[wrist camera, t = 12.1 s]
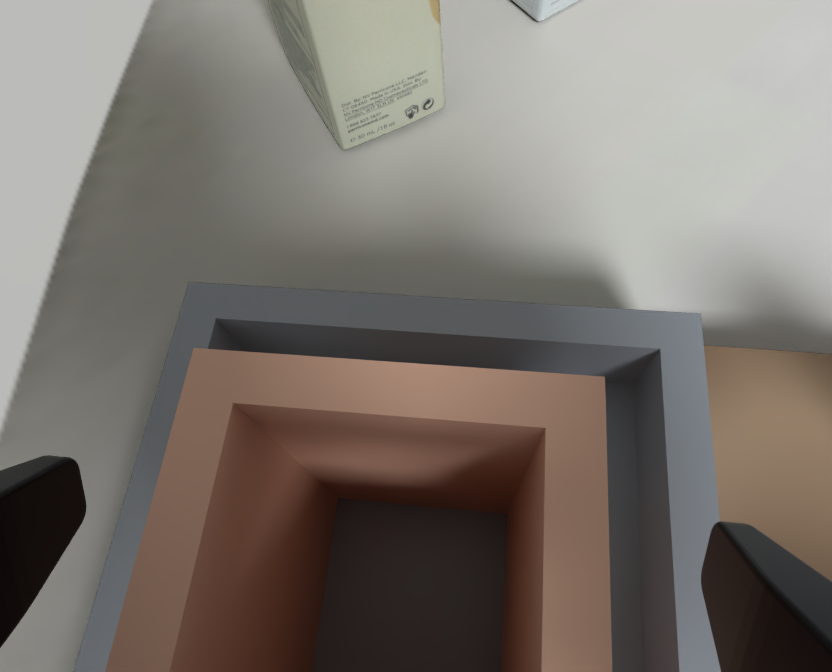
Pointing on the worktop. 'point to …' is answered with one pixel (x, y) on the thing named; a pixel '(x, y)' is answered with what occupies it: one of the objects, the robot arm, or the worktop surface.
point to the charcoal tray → (463, 529)
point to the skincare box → (365, 61)
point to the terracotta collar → (371, 481)
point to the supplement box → (543, 7)
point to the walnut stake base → (774, 445)
